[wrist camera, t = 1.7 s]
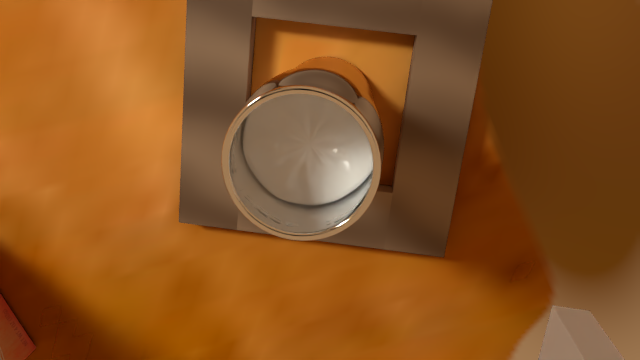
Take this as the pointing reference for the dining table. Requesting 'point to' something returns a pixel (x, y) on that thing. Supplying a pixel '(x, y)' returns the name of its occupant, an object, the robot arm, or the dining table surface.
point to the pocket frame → (417, 122)
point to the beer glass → (306, 151)
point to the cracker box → (13, 336)
